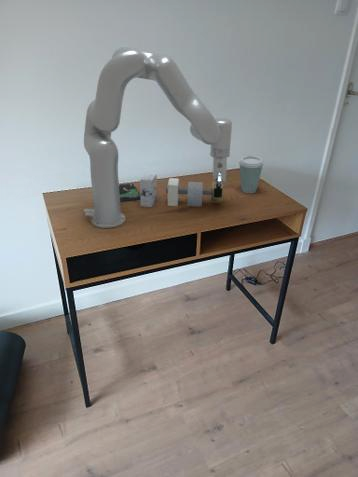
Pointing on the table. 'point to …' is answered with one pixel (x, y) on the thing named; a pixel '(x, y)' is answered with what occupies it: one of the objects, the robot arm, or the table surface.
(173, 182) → the white rectangular block
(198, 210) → the table surface
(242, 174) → the disposable coffee cup
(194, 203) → the block
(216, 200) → the sliding bolt
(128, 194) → the disk drive
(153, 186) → the ink box
